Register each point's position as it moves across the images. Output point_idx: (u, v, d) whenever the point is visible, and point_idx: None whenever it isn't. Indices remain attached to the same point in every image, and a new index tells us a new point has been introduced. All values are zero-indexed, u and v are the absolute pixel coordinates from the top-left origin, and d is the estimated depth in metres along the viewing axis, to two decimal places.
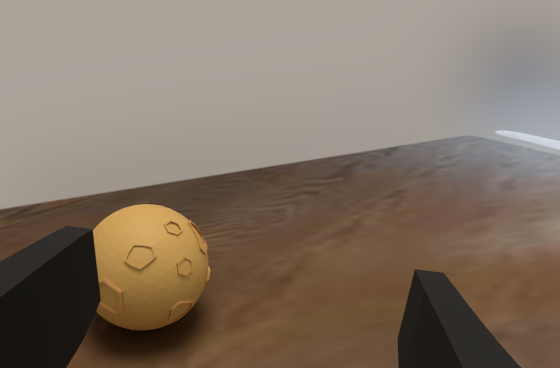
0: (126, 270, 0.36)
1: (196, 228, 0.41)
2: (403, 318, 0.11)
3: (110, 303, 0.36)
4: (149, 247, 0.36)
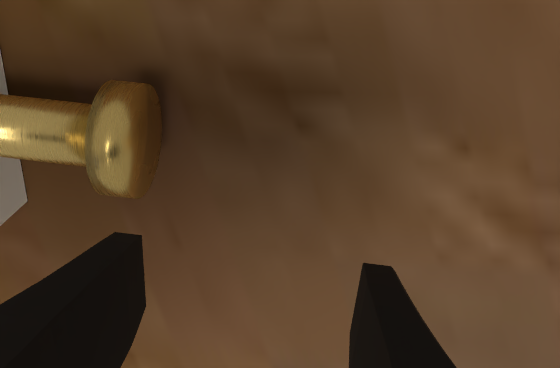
0: None
1: None
2: (354, 312, 0.11)
3: None
4: None
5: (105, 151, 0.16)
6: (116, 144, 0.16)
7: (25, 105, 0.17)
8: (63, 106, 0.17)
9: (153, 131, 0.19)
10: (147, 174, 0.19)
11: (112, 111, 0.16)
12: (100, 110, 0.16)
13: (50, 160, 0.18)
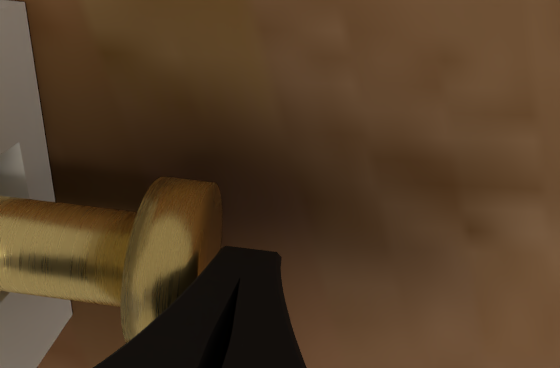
0: None
1: None
2: None
3: None
4: None
5: (153, 307, 0.10)
6: (171, 297, 0.10)
7: (26, 218, 0.11)
8: (84, 220, 0.11)
9: (214, 244, 0.13)
10: None
11: (164, 242, 0.10)
12: (145, 241, 0.10)
13: None
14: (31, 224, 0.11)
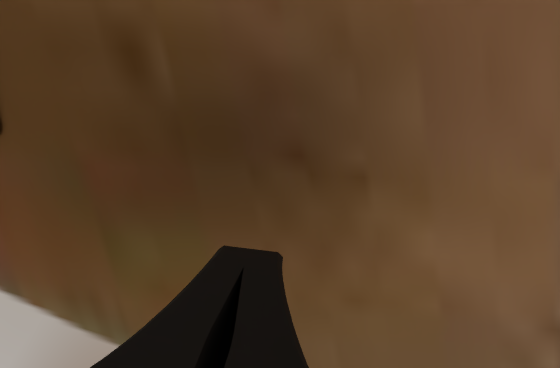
0: None
1: None
2: None
3: None
4: None
5: None
6: None
7: None
8: None
9: None
10: None
11: None
12: None
13: None
14: None
